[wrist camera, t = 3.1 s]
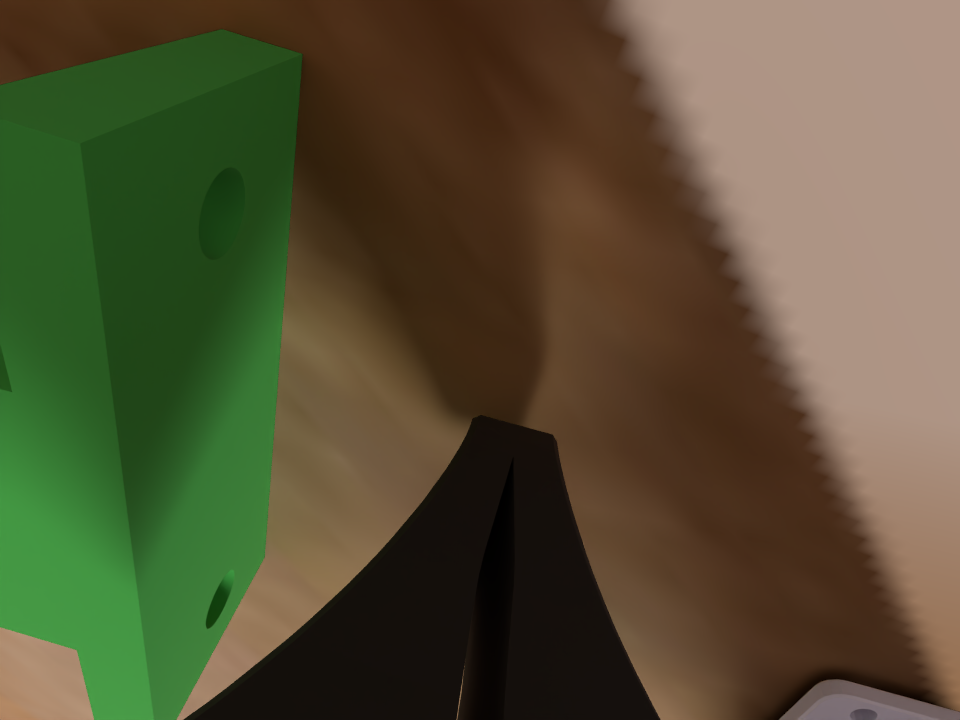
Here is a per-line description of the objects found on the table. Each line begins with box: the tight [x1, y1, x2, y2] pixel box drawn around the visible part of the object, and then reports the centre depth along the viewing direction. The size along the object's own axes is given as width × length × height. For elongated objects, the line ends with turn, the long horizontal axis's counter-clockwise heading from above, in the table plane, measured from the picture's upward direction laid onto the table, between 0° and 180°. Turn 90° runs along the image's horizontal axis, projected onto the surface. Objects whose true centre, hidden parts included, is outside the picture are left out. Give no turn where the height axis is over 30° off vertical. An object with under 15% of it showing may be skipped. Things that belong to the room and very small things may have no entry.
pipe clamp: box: [0, 29, 303, 720], centre depth 10 cm, size 11×4×5 cm, turn 166°
